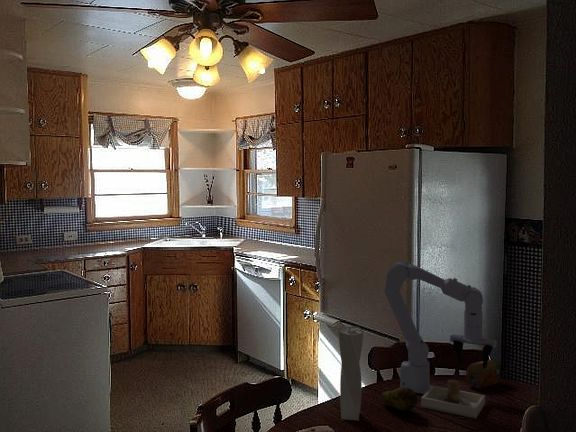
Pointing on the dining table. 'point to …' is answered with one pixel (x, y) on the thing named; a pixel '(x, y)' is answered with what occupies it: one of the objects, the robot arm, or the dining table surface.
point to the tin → (483, 374)
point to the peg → (453, 391)
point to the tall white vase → (350, 372)
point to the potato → (400, 398)
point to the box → (467, 404)
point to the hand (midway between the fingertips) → (472, 365)
